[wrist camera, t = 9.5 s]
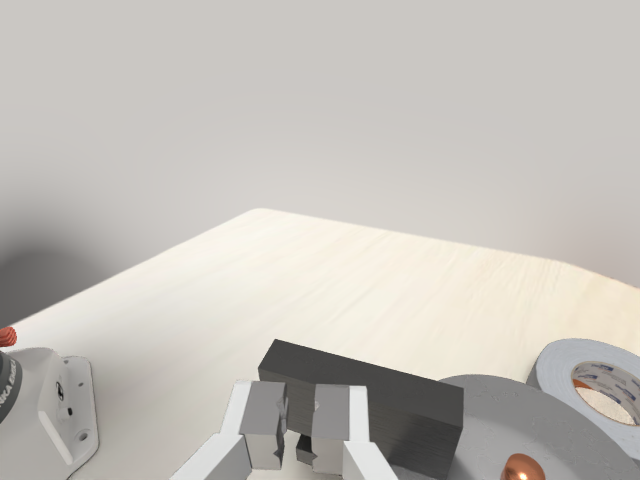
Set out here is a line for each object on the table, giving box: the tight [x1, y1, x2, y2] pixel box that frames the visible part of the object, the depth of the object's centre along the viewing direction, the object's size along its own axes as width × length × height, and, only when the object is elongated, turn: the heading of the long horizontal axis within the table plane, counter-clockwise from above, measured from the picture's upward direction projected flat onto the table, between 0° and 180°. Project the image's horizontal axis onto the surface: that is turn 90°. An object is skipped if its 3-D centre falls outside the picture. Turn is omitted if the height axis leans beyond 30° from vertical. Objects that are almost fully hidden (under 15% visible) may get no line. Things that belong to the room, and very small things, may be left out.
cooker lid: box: [258, 339, 640, 480], centre depth 26 cm, size 29×19×8 cm, turn 71°
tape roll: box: [526, 338, 640, 469], centre depth 41 cm, size 15×15×5 cm
